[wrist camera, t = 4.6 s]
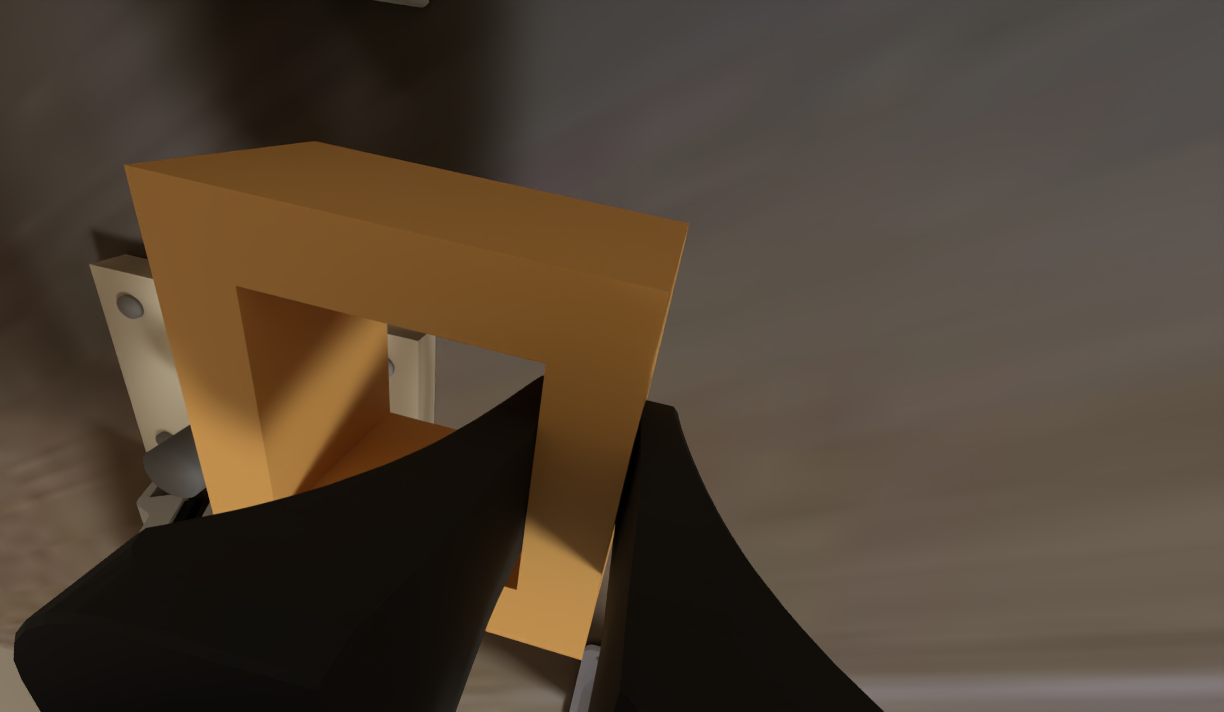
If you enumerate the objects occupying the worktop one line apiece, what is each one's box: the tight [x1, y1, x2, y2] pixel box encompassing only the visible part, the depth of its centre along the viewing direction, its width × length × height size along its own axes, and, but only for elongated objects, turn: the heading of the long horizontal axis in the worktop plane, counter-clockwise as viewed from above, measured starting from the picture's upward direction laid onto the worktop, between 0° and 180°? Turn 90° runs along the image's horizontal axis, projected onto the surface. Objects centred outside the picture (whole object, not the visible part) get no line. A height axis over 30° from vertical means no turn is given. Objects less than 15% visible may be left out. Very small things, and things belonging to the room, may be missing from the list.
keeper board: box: [89, 254, 436, 498], centre depth 22 cm, size 14×10×6 cm
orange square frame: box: [124, 141, 689, 660], centre depth 11 cm, size 8×8×4 cm
